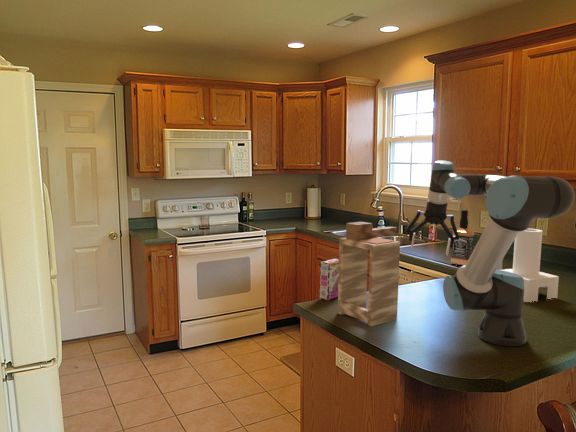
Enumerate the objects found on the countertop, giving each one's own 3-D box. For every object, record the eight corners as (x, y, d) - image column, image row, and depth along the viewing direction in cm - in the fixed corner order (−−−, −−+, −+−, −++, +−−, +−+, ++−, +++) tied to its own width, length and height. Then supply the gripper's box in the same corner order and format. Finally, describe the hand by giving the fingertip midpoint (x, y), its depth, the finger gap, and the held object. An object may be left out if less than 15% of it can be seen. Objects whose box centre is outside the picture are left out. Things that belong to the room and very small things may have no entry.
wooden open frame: (396, 319, 183) (400, 241, 179) (371, 326, 174) (374, 245, 171) (362, 307, 197) (364, 235, 193) (337, 313, 188) (339, 238, 185)
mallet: (387, 233, 199) (388, 218, 199) (398, 235, 195) (399, 220, 194) (346, 238, 185) (346, 223, 184) (357, 240, 180) (357, 224, 179)
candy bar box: (328, 301, 205) (329, 263, 203) (319, 299, 208) (319, 261, 206) (342, 295, 213) (343, 259, 211) (333, 293, 216) (334, 257, 214)
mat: (394, 241, 179) (394, 240, 179) (376, 244, 173) (376, 243, 173) (378, 238, 185) (378, 237, 185) (360, 241, 179) (360, 240, 179)
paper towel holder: (492, 291, 223) (496, 228, 219) (521, 287, 230) (526, 226, 227) (526, 303, 206) (531, 234, 202) (557, 298, 213) (562, 231, 210)
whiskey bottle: (449, 264, 279) (452, 210, 275) (456, 261, 287) (459, 208, 283) (467, 267, 273) (470, 211, 269) (473, 264, 280) (476, 210, 276)
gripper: (471, 202, 183) (461, 252, 190) (405, 193, 189) (398, 242, 197) (472, 208, 176) (462, 260, 184) (403, 199, 183) (396, 249, 190)
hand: (429, 251), depth 190 cm, fingers open, 13 cm apart
